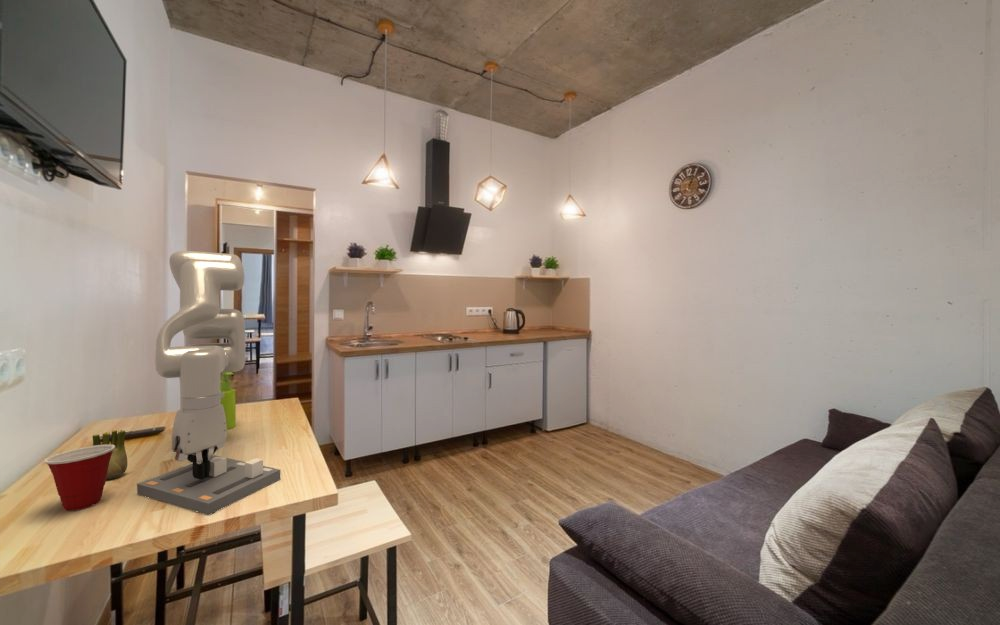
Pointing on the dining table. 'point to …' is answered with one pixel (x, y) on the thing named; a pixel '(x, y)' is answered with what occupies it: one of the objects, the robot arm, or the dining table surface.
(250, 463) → the right switch
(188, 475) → the switch panel
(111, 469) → the fennel bulb
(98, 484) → the plastic cup
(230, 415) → the soap dispenser
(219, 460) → the switch
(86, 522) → the dining table surface
